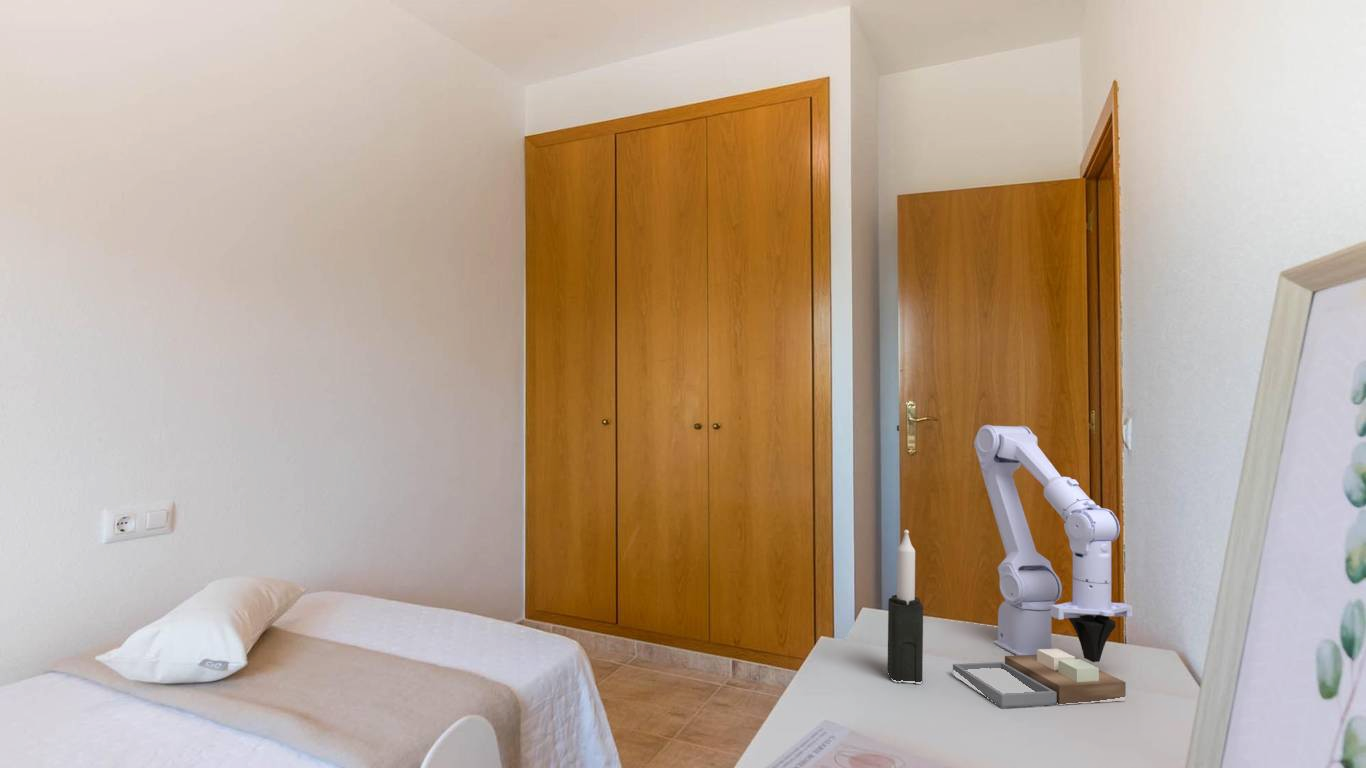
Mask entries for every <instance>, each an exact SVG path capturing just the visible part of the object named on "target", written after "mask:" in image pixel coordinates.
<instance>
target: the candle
mask: <svg viewBox="0 0 1366 768" xmlns="http://www.w3.org/2000/svg"><path fill="white" fill-rule="evenodd" d="M903 534H904V535H903V537H902V540H901V543H900V545H898V547H897V549H896V550H897V551H896V553H897V554H896V555H897V556H896V594H893V595H891V597H890V598H888V599H887V600H888V601H887V602H888V603H887V604H888V605H887V606H888V607H887V608H888V610H887V612H888V613H887V618H888V619H887V671H888V673H889V675H890V677H891V678H892V679H893V680H896V681H901V680H903V681H915V682H921V681H922V682H923V671H924V670H923V668H924V667H923V665H924V664H923V659H924V655H923V653H924V652H923V650H924V649H923V647H924V646H923V644H924V605H923V604H922V603H921V599H920V598H919V597H917V596H916V595H915V594H916V591H915V590H916V550H915V548H914V547H913V545H912V542H911V539H910V535H909V534H910V531H909V530H908V529H904V531H903ZM888 673H887V674H888ZM890 677H889V678H890Z"/></svg>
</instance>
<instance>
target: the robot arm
mask: <svg viewBox="0 0 1366 768" xmlns="http://www.w3.org/2000/svg"><path fill="white" fill-rule="evenodd" d="M1038 441H1039V440H1038V437H1037V436H1036V435H1035V434H1034V432H1032V430H1031V429H1030V428H1029V427H1028V426H1026V425H1017V426H1012V425H1011V426H1010V425H1009V426H1008V425H1006V426H1005V425H991V424H985V425H982V426H981V427H980V428H979V430H978V431H977V433H976V436H975V439H974V441H973V445H974V448H975V452H976V455H977V458H978V462H979V466H980V468H981V474H982V478H983V482H984V484H985V488H986V491H987V495H988V498H989V501H990V504H991V508H992V511H993V515H994V518H995V521H996V525H997V527H998V528H997V529H998V531H999V532H998V533H999V534H1000V535H999V536H1000V538H1001V541H1002V544H1003V548H1004V552H1005V555H1006V557H1005V558H1004V559H1003V560H1002V561H1001V563H1000V564H999V565H998V566H997V571H998V575H999V590H1000V593H1001V595H1002V597H1003V599H1004V601H1003V602H1001V603H1000V605H999V608H998V611H997V612H998V613H997V640H994V641H993V644H995V645H997V646H999V647H1001V648H1003V649H1004V650H1006V651H1008V652H1011V653H1012V654H1013V655H1037V649H1052V618H1054V619H1056V620H1064V619H1068V620H1069V622H1070V623H1071V625H1072V627H1073V629H1074V630H1075V631H1074V632H1075V633H1076V635H1077V637H1078V640H1079V643H1080V647H1081V651H1082V654H1083V658H1084V659H1086V660H1087V661H1090V662H1092V663H1099V662H1100V660H1101V659H1102V658H1101V657H1102V654H1103V651H1104V648H1105V645H1106V642H1107V641H1108V639H1109V636H1110V635H1111V633H1112V632H1113V631H1114V630H1115V628H1116V627H1117V626H1116V624H1117V623H1116V621H1115V620H1114V619H1110V618H1111V617H1125V618H1133V615H1134V614H1133V605H1130V604H1128V603H1124V602H1112V543H1113V542H1115V541H1116V540H1117V539H1118V537H1119V535H1120V531H1121V527H1120V522H1119V520H1118V517H1117V516H1116V514H1115V513H1114V512H1113V511H1112V510H1111V509H1109V508H1104V507H1103V508H1102V507H1101V506H1100V505H1097V503H1096V502H1095V501H1094V500H1093V499H1091V498H1090V497H1089V496H1088V495H1087V493H1086V492H1084V490H1083V489H1082V488H1081V487H1080V486H1079V485H1080V484H1079V482H1078V481H1077V479H1075V478H1074V479H1073V478H1071V477H1069V476H1061V474H1060V473H1059V471H1057V469H1056V468H1055V466H1054V465H1053V464H1052V463H1051V461H1050V460H1049V458H1047V456H1046V455H1045V454H1044V452H1043V451H1042V449H1041V448H1040V447H1039V445H1038ZM1021 466H1023V467H1024V468H1025V469H1026V470H1027V471H1028V472H1029V473H1030V474H1031V475H1032V476H1033V477H1034V478H1035V479H1036V480H1037V481H1038V482H1039V483H1040V485H1042V486H1043V487H1044V488H1043V496H1044V498H1045V500H1047V502H1048V503H1049V504H1050V505H1051V506H1052V507H1053V509H1054V510H1055V511H1056V512H1057V514H1059V515H1058V516H1060V517H1061V518H1062V519H1063V520H1064V522H1063V528H1064V531H1065V534H1066V536H1067V537H1068V540H1069V548H1070V550H1071V552H1072V601H1067V602H1063V603H1058V604H1056V602H1058V601H1059V600H1060V598H1061V597H1062V593H1063V585H1062V582H1061V579H1060V577H1059V576H1058V575H1057V573H1056V572H1055V571H1054V569H1053V567H1052V564H1051V561H1050V560H1049V559H1047V558H1046V557H1045V556H1043V555H1042V554H1040V553H1039V552H1038V551H1037V549H1036V546H1035V543H1034V540H1033V537H1032V533H1031V531H1030V527H1029V523H1028V522H1027V518H1026V514H1025V511H1024V509H1023V505H1022V501H1021V499H1020V497H1019V496H1020V495H1019V493H1018V489H1017V487H1016V484H1015V479H1014V478H1013V477H1014V476H1013V475H1014V473H1015V471H1016V470H1019V468H1020V467H1021Z"/></svg>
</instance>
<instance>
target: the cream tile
mask: <svg viewBox="0 0 1366 768" xmlns="http://www.w3.org/2000/svg"><path fill="white" fill-rule="evenodd" d="M1075 658H1076V656H1074V655H1072V654H1070V653H1067V652H1066V651H1063V650H1062V649H1059V648H1051V649H1037V662H1039V663H1041V664H1043V665H1045V666H1047V667H1049V668H1051V669H1053V670H1058V660H1071V659H1075Z"/></svg>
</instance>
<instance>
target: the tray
mask: <svg viewBox="0 0 1366 768" xmlns="http://www.w3.org/2000/svg"><path fill="white" fill-rule="evenodd" d="M980 668H990V669H991V668H1001V669H1004V670H1006V671H1007V672H1009V673H1010V674H1011V675H1012V676H1014V677H1015V678H1017V679H1018V680H1019V681H1021V682H1022V683H1023V684H1025V685H1026V686H1028V687H1029V688H1031V689H1032V690H1034V691H1035V692H1024V693H1005V694H1003V693H1001V692H1000V691H998V690H996V689H995V688H993V687H992V686H990V685H989V684H987V683H985V682H984V681H982V680H981V679H979V678H978V677H976V676H974V675H973V674H971V673H970V672H968V671H966V670H968V669H980ZM953 670H955V671H956V672H958V673H959V674H960V675H961V676H963V677H964V678H965V679H967V680H968V681H969V682H970V683H971V684H972V685H974V686H975V687H976V688H977V689H978V690H980V691H981V692H982V693H983V694H984V695H985V696H986V697H988V698H989V699H990V700H992V701H993V702H994V703H996V704H997V705H998V706H997V705H996V704H995V705H996V706H997V707H999V706H1000V707H1001V708H1000V707H999V708H1000V709H1002V708H1006V709H1018V707H1023V708H1030V707H1029V706H1040V707H1045V706H1044V705H1057V706H1058V704H1057V692H1055V691H1053V690H1051V689H1050V688H1048V687H1046V686H1044V685H1042V684H1041V683H1039V682H1037V681H1035V680H1034V679H1032V678H1030V677H1028V676H1026V675H1025V674H1023V673H1021V672H1019V671H1018V670H1016V669H1014V668H1012V667H1010V666H1009V665H1007V664H1005V662H1004V661H995V662H994V661H993V662H991V661H990V662H989V661H988V662H974V663H973V662H972V663H971V662H968V663H967V662H966V663H965V662H964V663H952V671H953ZM990 700H989V701H990ZM993 702H992V703H993ZM994 703H993V704H994Z"/></svg>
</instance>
